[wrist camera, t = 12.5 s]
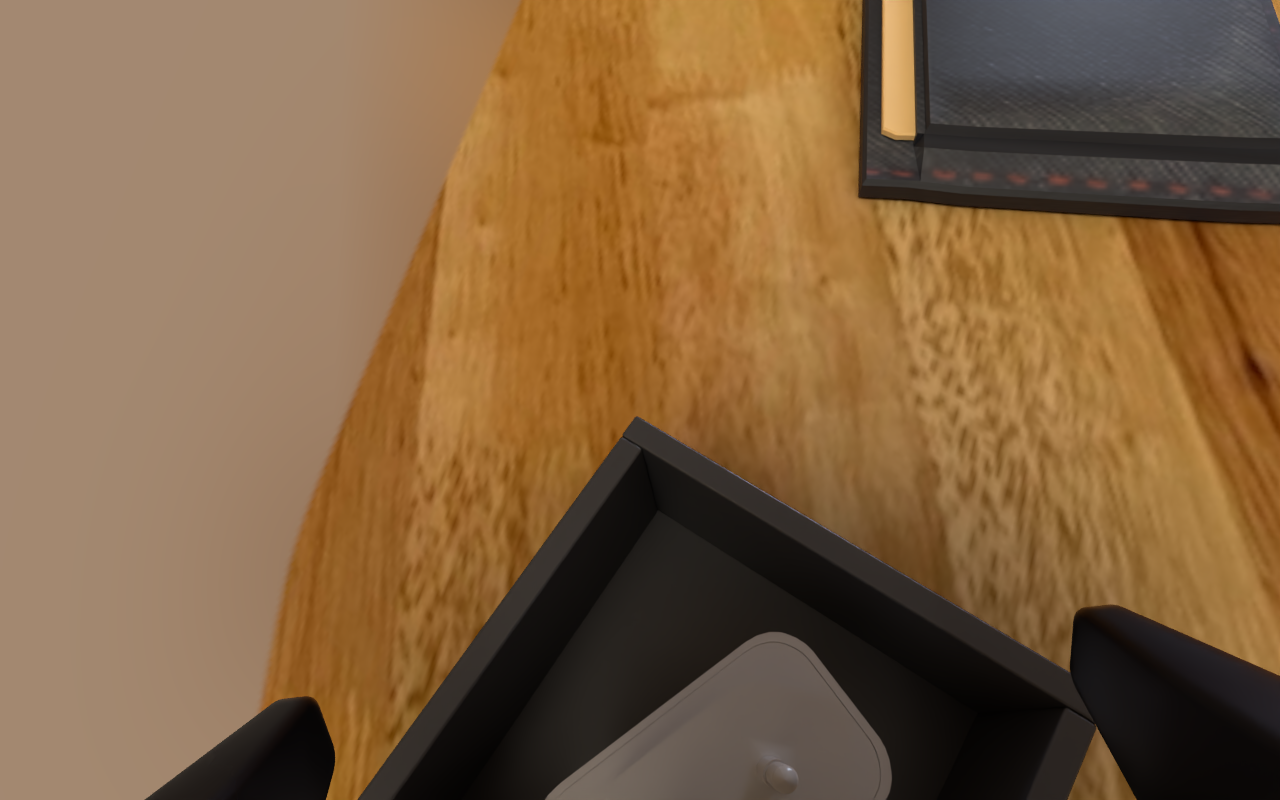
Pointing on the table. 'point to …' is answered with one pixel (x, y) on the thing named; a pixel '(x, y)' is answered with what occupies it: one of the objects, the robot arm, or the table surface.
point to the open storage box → (727, 646)
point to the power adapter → (745, 737)
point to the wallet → (1074, 106)
